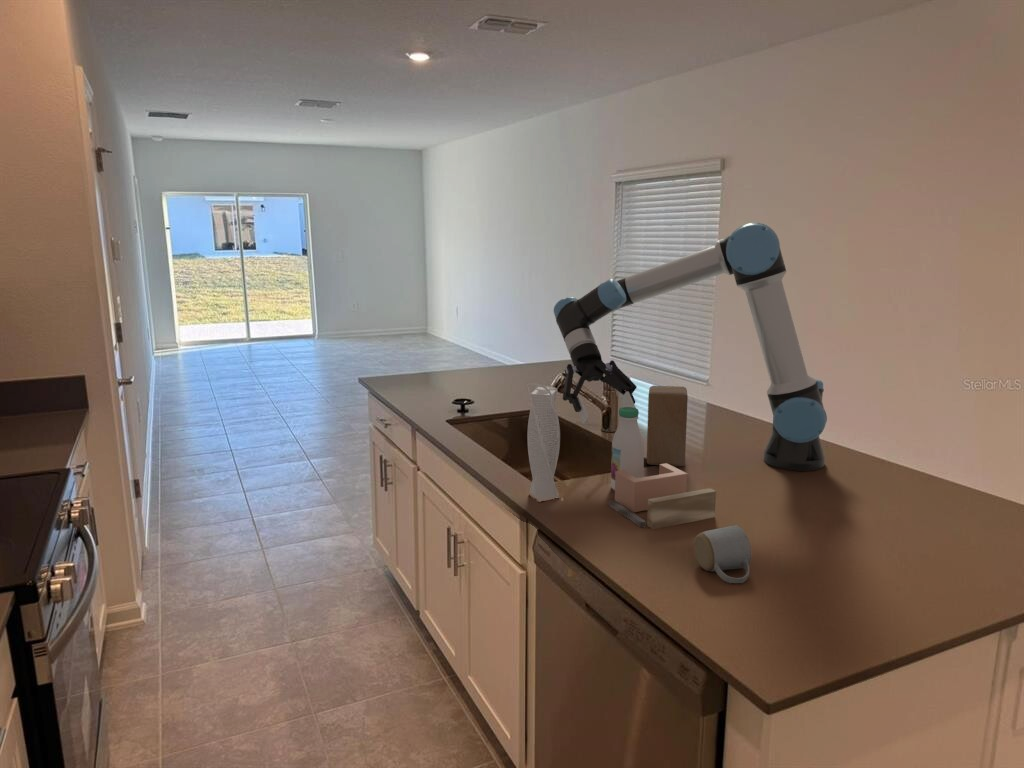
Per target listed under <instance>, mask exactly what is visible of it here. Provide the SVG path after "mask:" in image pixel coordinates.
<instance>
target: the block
mask: <svg viewBox="0 0 1024 768" xmlns="http://www.w3.org/2000/svg"><path fill="white" fill-rule="evenodd" d="M647 396H648V397H647V398H648V402H647V435H646V441H647V442H646V463H647V464H648V465H652V466H659V465H660V464H665V463H667V464H669V465H671V466H673V467H684V465H686V447H687V445H686V444H687V423H688V422H687V420H688V401H689V399H688V398H689V396H688V390H687V388H686V387H685V386H680V385H679V386H678V385H677V386H676V385H675V386H672V385H670V386H669V385H651V386H649V389H648V395H647Z"/></svg>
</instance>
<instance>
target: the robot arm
mask: <svg viewBox="0 0 1024 768" xmlns="http://www.w3.org/2000/svg"><path fill="white" fill-rule="evenodd" d="M780 246H781V244H780V240H779V237H778V235H777V233H776V232H775V231H774V229H773V228H771V226H768V225H767V224H764V223H760V222H749V223H746V224H743V225H741V226H739V227H738V228H736V229H735V230H734V231H733V232H732V233H731V234H730V235H728V236H726V237H723V238H722V239H718V240H717V242H716V244H715V245H713V246H710V247H708V248H707V247H706V248H705V249H702V250H699V251H696V252H693V253H691V254H688V255H685V256H682V257H680V258H677V259H674V260H671V261H669V262H666V263H663V264H660V265H657V266H655V267H651V268H649V269H646V270H644V271H643V270H642V271H641V272H638V273H636V274H632V275H630V276H627V277H625V278H621V279H618V280H615V279H614V278H610V279H608V280H606V281H604V282H602V283H600V284H599V285H598V286H596V287H595V288H594V289H592V290H590V291H589V292H588V293H586V294H584V296H582V297H580V298H579V299H577V298H576V297H574V296H567V297H566V298H562V299H559V300H558V301H557V302H556V303H555V305H554V307H553V315H554V318H555V321H556V322H555V323H556V324H557V326H558V329H559V331H560V333H561V337H562V338H563V341H564V343H565V346H566V349H567V352H568V353H569V356H570V360H571V362H572V364H573V365H572V364H571V363H568V364H567V366H566V367H565V369H564V374H565V380H564V381H565V382H564V387H563V393H562V400H563V401H565V402H566V401H568V403H569V404H571V405H572V407H573V410H574V411H575V412H576V413H578V415H579V417H580V421H581V422H582V423H581V424H582V425H583V426H585V425H587V424H588V422H589V420H590V417H589V413H588V411H587V409H586V405H585V403H584V401H583V398H582V396H579V394H580V392H581V389H582V388H583V386H584V383H585V381H586V382H588V383H589V382H593V381H594V382H598V381H600V382H602V383H606V384H607V385H608V386H609V387H611V388H613V389H614V390H616V391H617V392H619V393H620V394H622V397H621V399H622V401H623V404H624V406H625V407H633V408H636V405H635V404H636V399H635V397H634V394H633V393H634V392H635V390H636V389H637V388H638V387H637V385H636V384H635V383H634V382H633V381H632V380H631V379H630V378H629V377H628V376H627V375H626V374H625V373H624V372H623V371H622V370H621V369H620V368H619V367H618V366H617V364H616V362H615V361H614V360H610V361H609V362H606V363H605V362H603V359H602V355H601V353H600V350H599V347H598V344H597V342H596V340H595V337H594V335H593V333H592V331H591V330H592V329H591V328H590V326H592V325H593V324H595V323H596V322H597V321H599V320H601V319H602V318H604V317H606V316H607V315H609V314H610V313H612V312H615V311H618V310H619V309H620V310H621V309H622V308H625V307H628V306H632V305H634V304H636V303H640V302H642V301H645V300H648V299H652V298H655V297H657V296H660V295H663V294H666V293H669V292H672V291H674V290H677V289H681V288H684V287H686V286H689V285H693V284H695V283H699V282H701V281H704V280H708V279H710V278H713V277H716V276H720V275H723V274H726V275H728V276H732V275H733V276H734V280H735V284H736V286H737V287H738V288H740V289H742V290H743V291H744V292H745V297H746V299H747V303H748V306H749V310H750V313H751V314H750V315H751V316H752V321H753V323H754V327H755V331H756V334H757V338H758V342H759V345H760V348H761V351H762V352H761V353H762V356H763V359H764V364H765V367H766V369H767V370H766V371H767V373H768V377H769V381H770V385H769V387H768V389H767V390H766V395H767V398H768V401H769V405H770V409H771V412H772V431H771V434H770V437H769V439H768V441H767V443H766V446H765V448H764V451H763V461H764V462H765V463H766V464H768V465H770V466H771V467H775V468H778V469H783V470H788V471H797V472H799V471H800V472H810V471H816V470H820V469H822V468H824V467H825V458H826V457H825V454H824V451H823V447H822V443H821V439H820V435H821V434H822V433H823V431H824V429H825V427H826V425H827V421H828V417H827V413H826V410H825V408H824V404H823V397H824V396H823V394H824V391H825V389H824V382H823V381H822V380H820V379H816V378H813V377H811V376H810V375H808V372H807V367H806V365H805V361H804V357H803V354H802V350H801V345H800V342H799V338H798V335H797V330H796V328H795V325H794V324H795V323H794V321H793V320H794V319H793V316H792V313H791V310H790V307H789V306H790V305H789V302H788V299H787V296H786V292H785V287H784V284H783V278H784V277H785V275H786V273H787V269H786V265H785V261H784V257H783V254H782V250H781V247H780ZM575 373H576V374H577V375H578V376H579V379H578V381H577V384H576V386H575V388H574V390H573V392H572V385H573V378H574V374H575ZM571 392H572V393H571Z"/></svg>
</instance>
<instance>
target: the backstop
mask: <svg viewBox="0 0 1024 768" xmlns="http://www.w3.org/2000/svg"><path fill="white" fill-rule="evenodd" d="M716 496H717V490H715V489H713V488H708V487H707V488H704V489H698V490H697V489H696V490H693V491H687V492H686V493H681V494H675V495H669V496H664V497H658V498H653V499H648V510H647V516H646V517H647V522H646V520H645V519H644V518H642V517H640V516H639V515H637V514H636V513H635V512H632V511H631V510H629V509H628V508H626V507H625V506H623V505H621V504H620V503H618V502H617V501H615V499H612V500H609V502H608V503H609V505H608V506H609V507H610V506H611V507H610V508H612V507H613V508H614V509H615V510H614V509H613V508H612V509H613V510H614V511H616V510H617V511H618V512H617V511H616V512H617V513H619V514H620V513H621V514H620V515H621V516H623V515H624V516H623V517H624V518H626V517H627V518H626V519H627V520H629V519H630V520H629V521H631V520H632V521H633V522H632V521H631V522H632V523H634V524H635V523H636V524H635V525H637V526H638V525H639V526H640V527H639V526H638V527H639V528H645V527H648V528H649V527H650V528H649V529H651V530H652V529H653V530H658V529H662V527H663V528H668V527H672V526H678V525H682V524H683V525H684V524H688V523H692V522H697V521H702V520H707V519H713V518H715V517H716V498H717V497H716ZM646 523H647V524H646ZM644 526H645V527H644ZM657 528H658V529H657Z"/></svg>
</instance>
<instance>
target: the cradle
mask: <svg viewBox="0 0 1024 768" xmlns="http://www.w3.org/2000/svg"><path fill="white" fill-rule="evenodd" d="M658 466H659V467H658V468H659V470H658V473H659V474H656V475H648V476H643V477H642V478H636V477H634V476H632V475H630V474H629V473H627V472H625V471H623V470H621V471H615V490H614V501H616V502H617V503H619V504H620V505H622V506H624V507H625V508H627V509H628V510H630V511H631V512H633V513H638V512H642V511H648V499H653V498H658V497H664V496H669V495H675V494H681V493H686V492H688V473H687V472H685V471H684V470H681V469H679V468H677V467H676V466H671V465H669V464H667V463H665V464H660V465H658Z"/></svg>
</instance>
